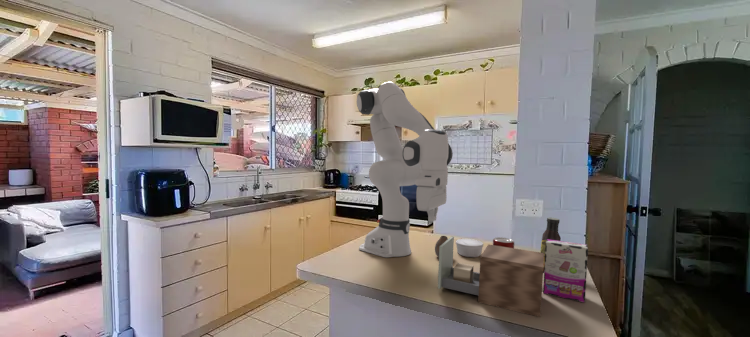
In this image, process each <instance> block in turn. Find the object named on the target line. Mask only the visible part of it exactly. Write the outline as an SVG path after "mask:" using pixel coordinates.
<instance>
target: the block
mask: <svg viewBox="0 0 750 337" xmlns="http://www.w3.org/2000/svg"><path fill="white" fill-rule="evenodd" d="M453 268H454V276H453V280H457V281H462V282H467V283H472V282H473V272H474V265H473V264H467V263H460V262H457V263H456V264H455V265H454V267H453Z"/></svg>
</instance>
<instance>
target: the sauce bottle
mask: <svg viewBox="0 0 750 337" xmlns="http://www.w3.org/2000/svg"><path fill="white" fill-rule="evenodd" d="M559 224H560V219H559V218H557V217H547V218H546V228H545V231H543V234H542V236H541V242H540V251H539V252H540V253H544V264H543V272H544V266H545V245H546V241H547V239H550V240H557V241H562V240H561V236H560V233H559Z"/></svg>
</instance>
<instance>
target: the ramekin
mask: <svg viewBox="0 0 750 337" xmlns="http://www.w3.org/2000/svg"><path fill="white" fill-rule="evenodd" d="M455 244H456V251H457V253H458V254H459V255H460V256H462V257H466V258H478V257H480V256H481V255H482V253H483V251H482V250H483V247H484V242H482V241H480V240H479V239H473V238H458V239H456V240H455Z"/></svg>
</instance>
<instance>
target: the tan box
mask: <svg viewBox="0 0 750 337" xmlns="http://www.w3.org/2000/svg"><path fill="white" fill-rule="evenodd" d="M479 257H480V259H479V260H480V261H479V262H480V264H479V273H480V276H479V296H477V299H478V300H477V301H478V303H480V304H484V305H489V306H494V307H497V308H501V309H506V310H509V311H513V312H518V313H521V314H526V315H530V316H535V317H538V318H541V316H542V314H541V312H542V297H543V296H542V295H543V283H544V271H543V264H544V253H540V251H532V250H526V249H518V248H515V247H514V248H508V247H502V246H495V245H493V244H487V246H486V247H485V249H484V250H483V251H482V252H481V255H480V256H479Z"/></svg>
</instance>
